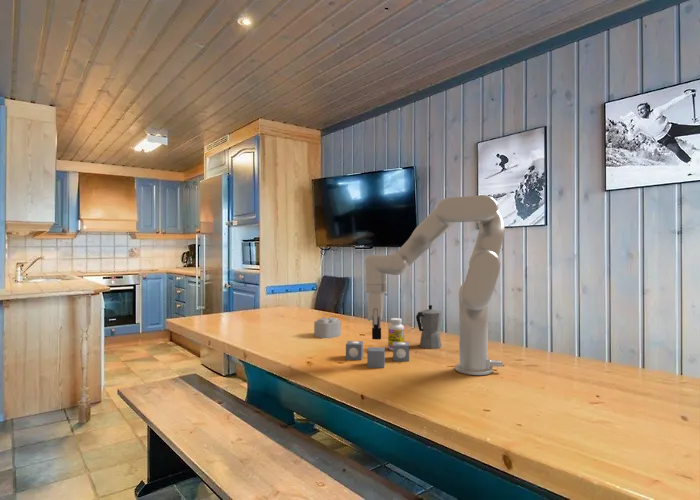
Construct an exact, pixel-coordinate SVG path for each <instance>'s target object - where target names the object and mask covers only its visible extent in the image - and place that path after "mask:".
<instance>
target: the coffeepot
mask: <svg viewBox="0 0 700 500" xmlns="http://www.w3.org/2000/svg"><path fill="white" fill-rule="evenodd" d="M441 317H442V311H440V310H437V309H436V310H435V309H433V305H432V304H429V305H428V309H424V310H423V309H422V310H420V311H419V312H417V314H416V316H415V318H416V322H417V323H416V324H417V327H418V331H419V332H421V335H420V341H419V347H421V348H423V349H429V350H430V349H431V350H435V349H440V348H441V347H442V342H441V336H440V332H439V328H440V325H441Z"/></svg>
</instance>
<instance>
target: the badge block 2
mask: <svg viewBox="0 0 700 500" xmlns="http://www.w3.org/2000/svg"><path fill="white" fill-rule="evenodd" d="M392 361H393V362H410V343H409V342H408V341H404V342H393V350H392Z"/></svg>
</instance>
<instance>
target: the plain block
mask: <svg viewBox="0 0 700 500" xmlns="http://www.w3.org/2000/svg"><path fill="white" fill-rule="evenodd" d="M385 348H386V347H373V346H372V347H371V346H369V347H368V348H367V356H366V358H367V361H366V362H367V363H366V364H367V365H366V366H367V368H368V369H376V368H377V369H384V368H385V363H386V356H385V355H386V353H385V352H386V350H385Z"/></svg>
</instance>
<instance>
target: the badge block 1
mask: <svg viewBox="0 0 700 500" xmlns="http://www.w3.org/2000/svg"><path fill="white" fill-rule="evenodd" d="M363 356H364V341H363V340H347V342H346V343H345V360H346V361H347V360H348V361H362V360H363V358H364V357H363Z"/></svg>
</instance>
